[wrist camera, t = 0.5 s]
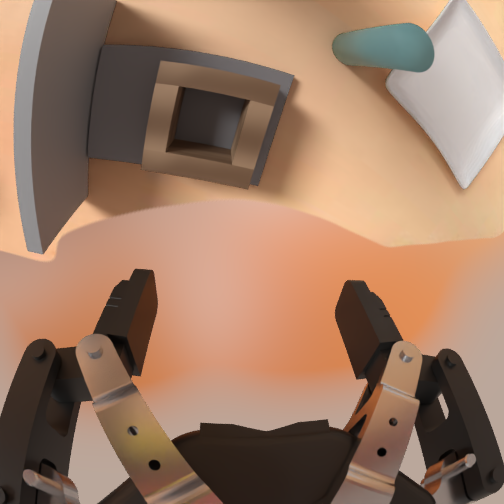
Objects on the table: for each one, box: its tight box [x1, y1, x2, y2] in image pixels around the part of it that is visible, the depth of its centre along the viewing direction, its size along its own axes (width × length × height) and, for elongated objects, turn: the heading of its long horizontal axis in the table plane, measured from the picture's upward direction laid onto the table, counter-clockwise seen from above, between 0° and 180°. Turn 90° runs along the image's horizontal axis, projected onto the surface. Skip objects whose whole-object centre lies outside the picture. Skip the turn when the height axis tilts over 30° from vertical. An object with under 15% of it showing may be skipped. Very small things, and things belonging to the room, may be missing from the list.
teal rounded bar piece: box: [332, 23, 434, 73], centre depth 18 cm, size 4×4×12 cm
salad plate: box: [385, 0, 504, 189], centre depth 23 cm, size 21×21×3 cm
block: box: [141, 61, 281, 189], centre depth 23 cm, size 10×10×5 cm
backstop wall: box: [14, 0, 117, 254], centre depth 18 cm, size 24×2×12 cm, turn 164°
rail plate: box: [88, 45, 294, 186], centre depth 25 cm, size 13×20×1 cm, turn 74°
